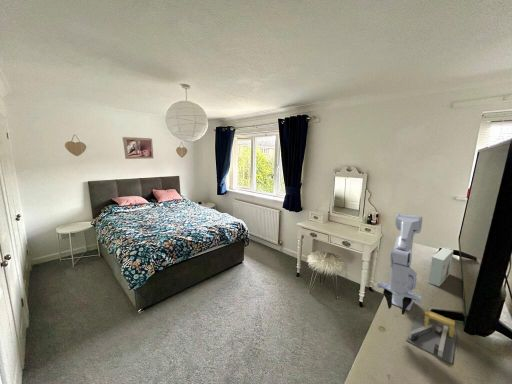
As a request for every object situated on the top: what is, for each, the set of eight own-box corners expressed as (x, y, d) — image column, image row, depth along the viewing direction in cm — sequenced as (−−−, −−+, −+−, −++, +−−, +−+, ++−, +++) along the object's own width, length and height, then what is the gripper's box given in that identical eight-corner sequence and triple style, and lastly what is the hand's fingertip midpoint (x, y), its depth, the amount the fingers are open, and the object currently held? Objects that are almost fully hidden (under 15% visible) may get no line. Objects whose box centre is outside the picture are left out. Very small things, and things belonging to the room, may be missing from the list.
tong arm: (429, 328, 86) (429, 324, 86) (435, 332, 84) (435, 327, 84) (408, 337, 82) (408, 332, 82) (413, 341, 80) (413, 336, 80)
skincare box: (440, 287, 114) (443, 260, 111) (428, 283, 118) (430, 256, 116) (450, 274, 126) (453, 249, 124) (439, 270, 130) (441, 246, 128)
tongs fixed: (436, 327, 87) (436, 322, 87) (447, 332, 84) (448, 326, 84) (429, 351, 76) (430, 345, 76) (442, 358, 74) (442, 351, 73)
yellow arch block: (425, 321, 90) (426, 309, 89) (453, 333, 83) (455, 321, 83) (424, 325, 88) (425, 313, 87) (452, 337, 81) (454, 325, 81)
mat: (416, 316, 93) (416, 316, 93) (456, 333, 84) (456, 333, 84) (406, 341, 81) (406, 340, 81) (451, 364, 72) (452, 363, 72)
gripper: (375, 276, 85) (373, 306, 87) (419, 291, 75) (416, 325, 77) (381, 269, 90) (379, 298, 92) (423, 283, 80) (420, 315, 82)
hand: (396, 310), depth 85 cm, fingers open, 4 cm apart
